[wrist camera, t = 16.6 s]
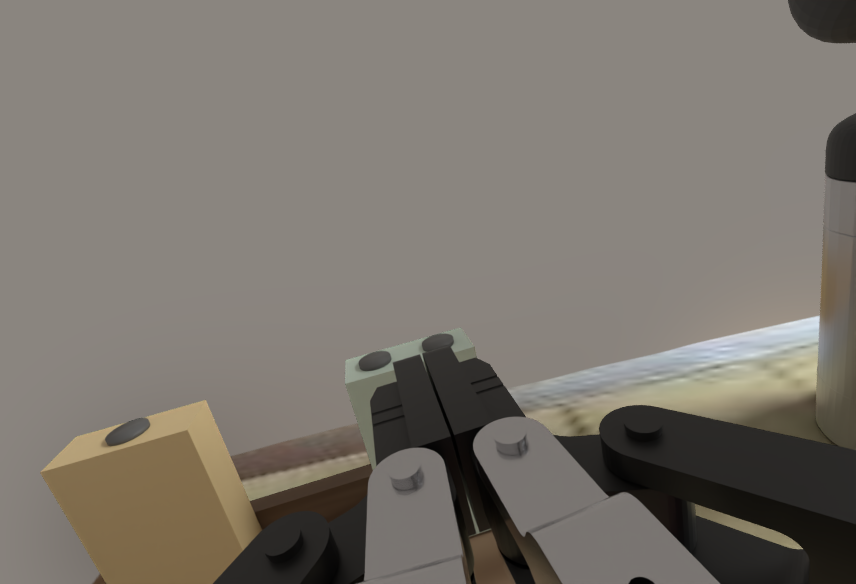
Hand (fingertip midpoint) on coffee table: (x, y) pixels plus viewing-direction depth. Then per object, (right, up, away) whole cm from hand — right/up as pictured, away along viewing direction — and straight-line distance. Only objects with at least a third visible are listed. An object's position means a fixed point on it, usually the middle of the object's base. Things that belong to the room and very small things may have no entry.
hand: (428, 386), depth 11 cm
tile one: (-13, -16, +16) cm, 26 cm away
